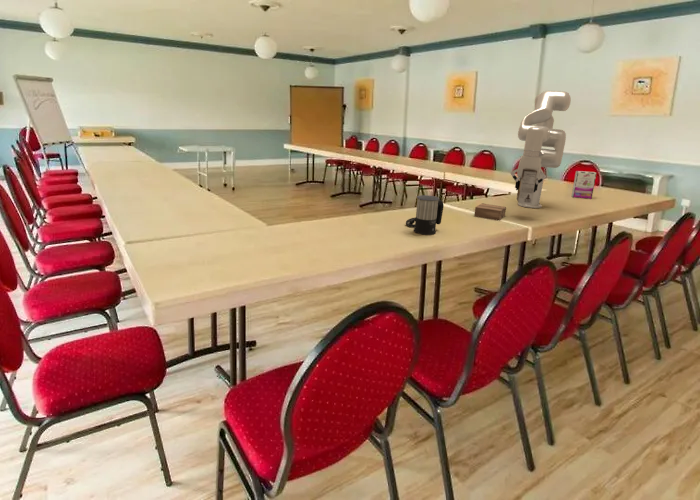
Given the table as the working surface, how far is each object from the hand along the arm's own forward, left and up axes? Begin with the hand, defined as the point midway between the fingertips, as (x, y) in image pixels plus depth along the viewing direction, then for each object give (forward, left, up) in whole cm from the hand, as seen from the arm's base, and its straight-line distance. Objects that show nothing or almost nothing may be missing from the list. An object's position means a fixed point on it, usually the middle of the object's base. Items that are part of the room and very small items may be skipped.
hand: (525, 190), depth 229 cm
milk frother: (+54, -34, -14) cm, 65 cm away
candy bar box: (-88, +25, -14) cm, 93 cm away
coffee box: (0, 0, -6) cm, 6 cm away
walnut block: (+7, -14, -14) cm, 21 cm away
